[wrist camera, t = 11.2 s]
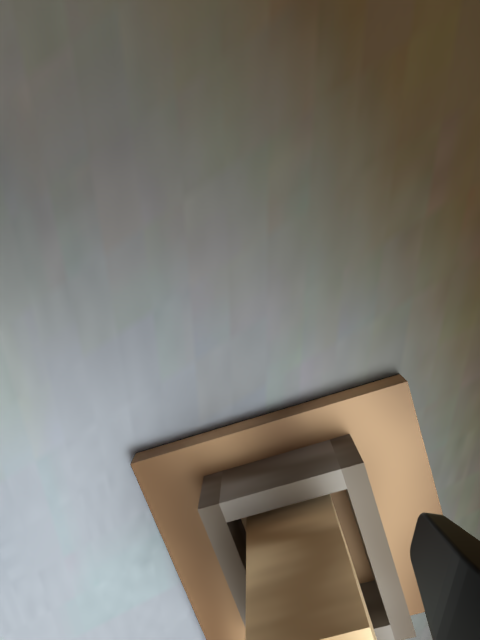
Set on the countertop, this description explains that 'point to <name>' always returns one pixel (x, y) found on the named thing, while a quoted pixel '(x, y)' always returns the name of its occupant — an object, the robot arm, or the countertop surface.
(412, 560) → the robot arm
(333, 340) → the countertop surface
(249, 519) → the keyed block
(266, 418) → the holder
